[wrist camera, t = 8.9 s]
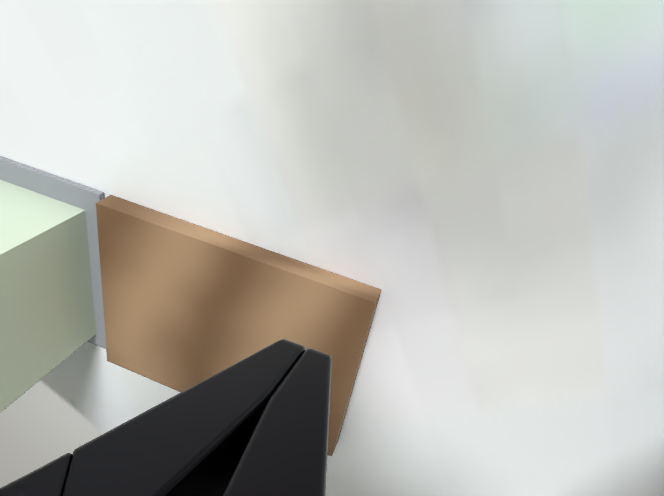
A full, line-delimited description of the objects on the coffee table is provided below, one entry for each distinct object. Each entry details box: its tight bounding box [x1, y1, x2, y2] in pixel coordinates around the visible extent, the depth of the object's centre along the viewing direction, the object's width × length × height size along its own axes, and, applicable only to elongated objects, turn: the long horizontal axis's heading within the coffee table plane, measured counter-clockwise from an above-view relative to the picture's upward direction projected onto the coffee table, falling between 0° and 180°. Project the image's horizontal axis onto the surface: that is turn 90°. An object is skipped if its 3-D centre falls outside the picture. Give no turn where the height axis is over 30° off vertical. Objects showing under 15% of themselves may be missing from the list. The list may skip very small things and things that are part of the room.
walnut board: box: [96, 195, 381, 456], centre depth 25 cm, size 14×10×1 cm
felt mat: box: [0, 156, 106, 349], centre depth 27 cm, size 10×10×1 cm
